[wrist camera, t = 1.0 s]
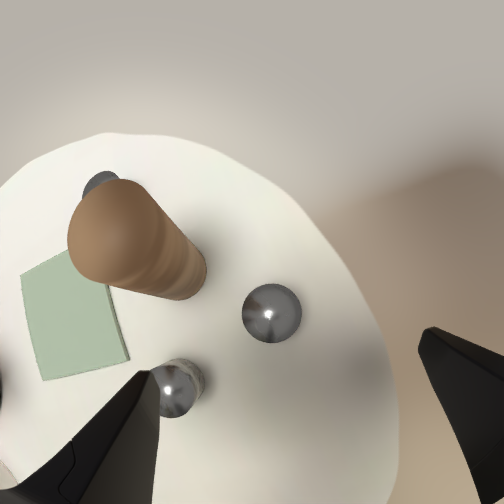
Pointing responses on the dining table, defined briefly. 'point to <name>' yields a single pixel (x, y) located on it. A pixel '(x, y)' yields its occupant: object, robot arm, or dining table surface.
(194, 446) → the dining table surface
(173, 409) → the cylinder
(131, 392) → the robot arm
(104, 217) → the walnut post
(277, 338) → the cylinder
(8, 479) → the cylindrical container
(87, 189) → the cylinder
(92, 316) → the mat
